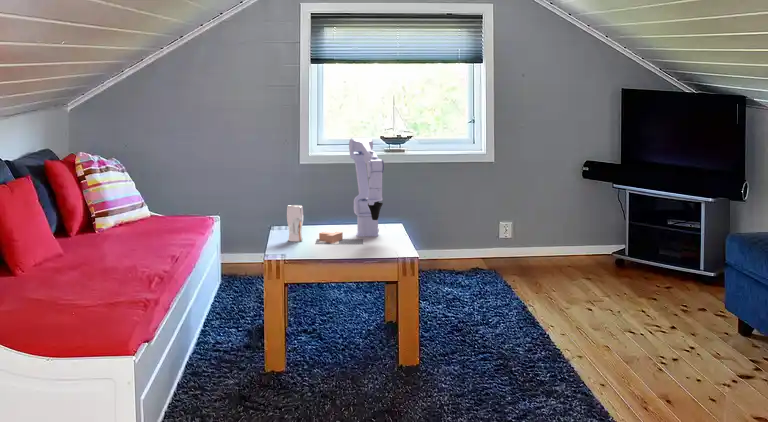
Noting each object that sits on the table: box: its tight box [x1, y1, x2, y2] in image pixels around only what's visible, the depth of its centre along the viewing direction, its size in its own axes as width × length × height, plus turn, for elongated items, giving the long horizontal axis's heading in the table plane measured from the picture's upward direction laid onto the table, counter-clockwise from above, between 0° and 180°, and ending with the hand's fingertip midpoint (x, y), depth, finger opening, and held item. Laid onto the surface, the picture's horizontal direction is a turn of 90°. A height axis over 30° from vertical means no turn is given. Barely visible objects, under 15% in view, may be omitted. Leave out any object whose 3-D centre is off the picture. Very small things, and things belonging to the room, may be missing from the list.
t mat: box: [314, 238, 364, 245], centre depth 315 cm, size 20×12×1 cm, turn 92°
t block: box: [318, 231, 344, 243], centre depth 318 cm, size 8×9×3 cm
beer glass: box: [286, 204, 304, 243], centre depth 318 cm, size 7×7×15 cm
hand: (375, 219), depth 317 cm, fingers closed
